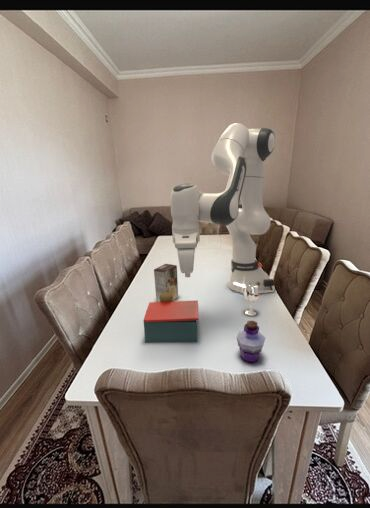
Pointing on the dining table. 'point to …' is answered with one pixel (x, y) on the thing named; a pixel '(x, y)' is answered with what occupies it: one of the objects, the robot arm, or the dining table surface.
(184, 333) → the lunchbox
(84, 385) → the dining table surface
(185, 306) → the lid
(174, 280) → the coffee box
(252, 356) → the potion bottle
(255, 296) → the wineglass
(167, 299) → the pepper shaker
